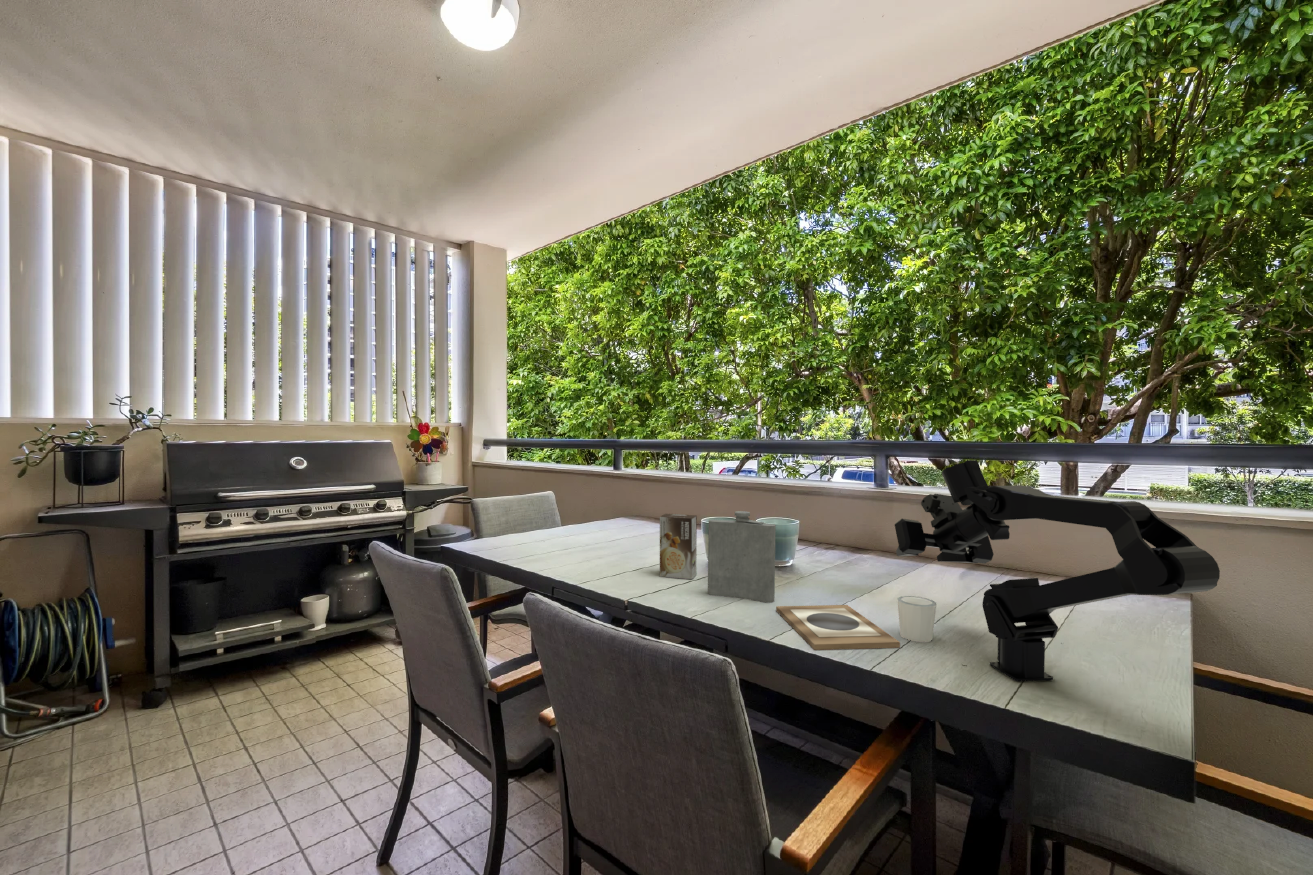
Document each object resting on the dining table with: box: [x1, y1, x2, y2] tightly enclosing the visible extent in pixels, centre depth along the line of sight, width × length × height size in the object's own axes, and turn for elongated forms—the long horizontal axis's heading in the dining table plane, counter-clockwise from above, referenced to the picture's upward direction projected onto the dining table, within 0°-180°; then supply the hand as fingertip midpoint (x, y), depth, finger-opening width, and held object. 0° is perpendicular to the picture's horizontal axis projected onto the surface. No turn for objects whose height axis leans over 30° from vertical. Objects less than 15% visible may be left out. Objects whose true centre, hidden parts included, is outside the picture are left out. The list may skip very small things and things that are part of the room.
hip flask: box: [707, 510, 777, 604], centre depth 134 cm, size 16×4×20 cm, turn 66°
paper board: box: [775, 604, 901, 651], centre depth 114 cm, size 22×16×1 cm
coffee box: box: [659, 513, 698, 580], centre depth 153 cm, size 9×6×16 cm
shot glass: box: [897, 595, 938, 643], centre depth 109 cm, size 7×7×7 cm
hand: (917, 556), depth 116 cm, fingers open, 9 cm apart
